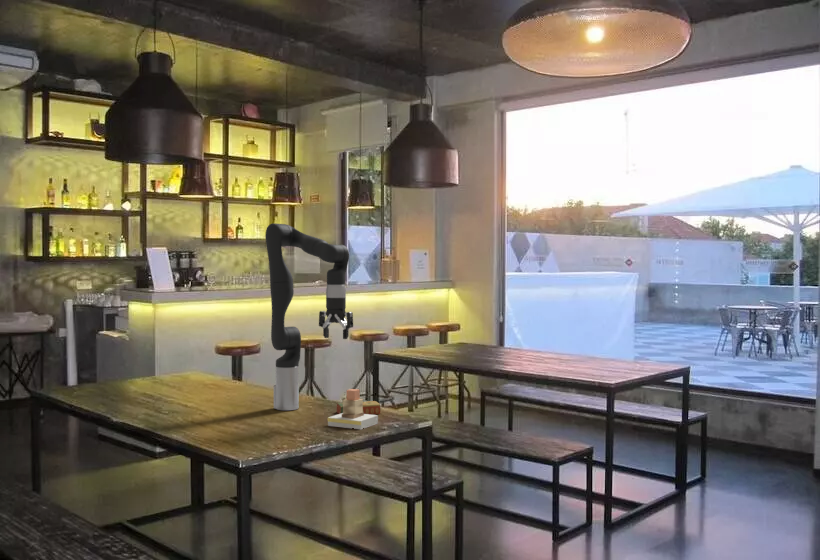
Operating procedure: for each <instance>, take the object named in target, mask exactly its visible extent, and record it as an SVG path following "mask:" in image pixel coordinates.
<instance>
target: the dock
mask: <svg viewBox="0 0 820 560" xmlns="http://www.w3.org/2000/svg"><path fill="white" fill-rule="evenodd" d="M342 414H343V413H341V414H338V413H337V414H334V415H331V416H328V417H327V426H328V427H336V428H337V427H338V428H345V429H352V428H354V430H364V429H366V428H370V427H372V426H374V425H377V424H379V414H364V415H363V416H360V417H357V418H354V419H352V418H343V417H342ZM363 428H364V429H363Z"/></svg>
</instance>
